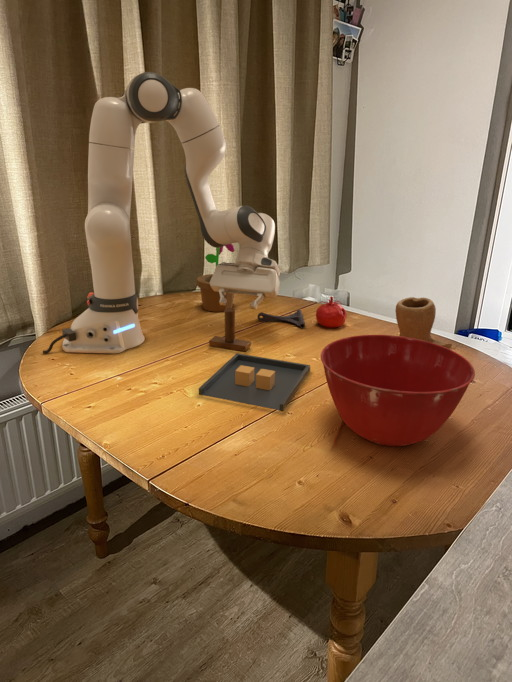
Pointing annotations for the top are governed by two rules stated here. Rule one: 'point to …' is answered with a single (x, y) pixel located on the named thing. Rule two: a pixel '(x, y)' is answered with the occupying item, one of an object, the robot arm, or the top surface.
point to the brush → (230, 335)
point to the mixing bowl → (394, 386)
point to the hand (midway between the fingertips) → (237, 306)
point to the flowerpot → (207, 293)
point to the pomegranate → (331, 314)
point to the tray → (276, 398)
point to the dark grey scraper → (284, 318)
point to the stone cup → (417, 319)
